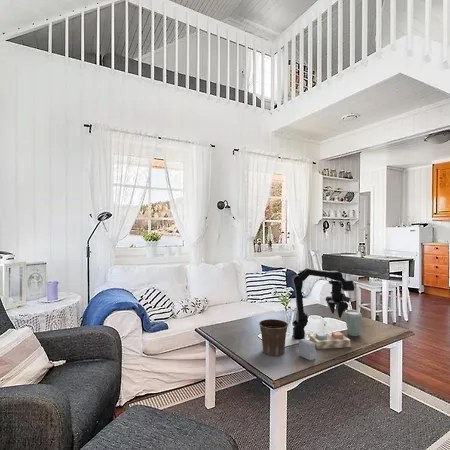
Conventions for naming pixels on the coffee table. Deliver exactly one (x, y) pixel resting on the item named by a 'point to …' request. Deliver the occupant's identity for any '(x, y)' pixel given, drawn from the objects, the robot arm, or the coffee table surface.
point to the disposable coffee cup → (353, 321)
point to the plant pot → (273, 336)
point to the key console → (330, 342)
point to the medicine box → (307, 349)
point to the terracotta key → (337, 335)
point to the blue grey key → (321, 336)
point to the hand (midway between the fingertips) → (336, 315)
